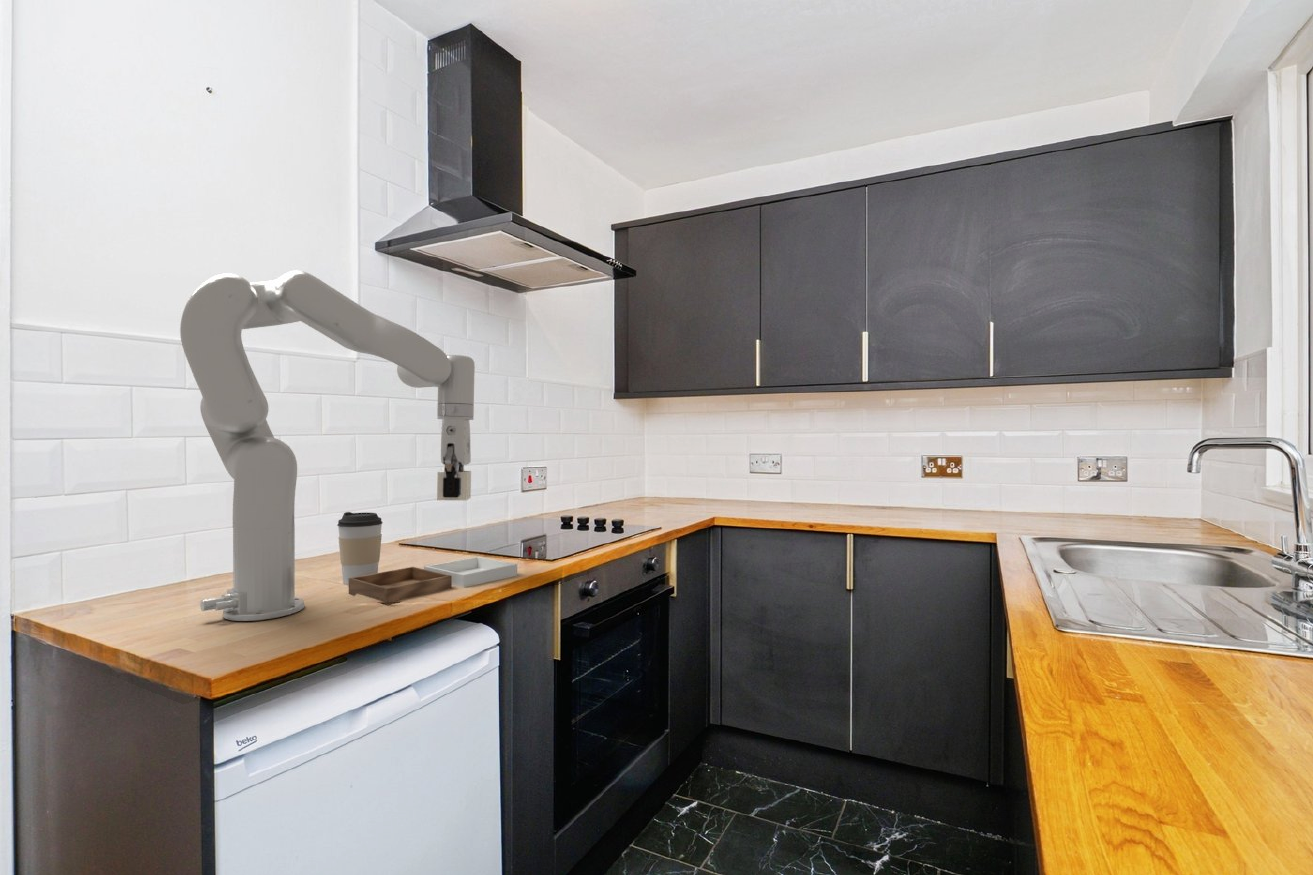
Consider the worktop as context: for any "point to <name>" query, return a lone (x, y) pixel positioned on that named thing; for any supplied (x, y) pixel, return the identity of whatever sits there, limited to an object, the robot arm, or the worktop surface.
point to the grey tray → (474, 570)
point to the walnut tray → (399, 584)
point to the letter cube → (463, 486)
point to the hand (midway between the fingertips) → (453, 495)
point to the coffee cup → (359, 544)
